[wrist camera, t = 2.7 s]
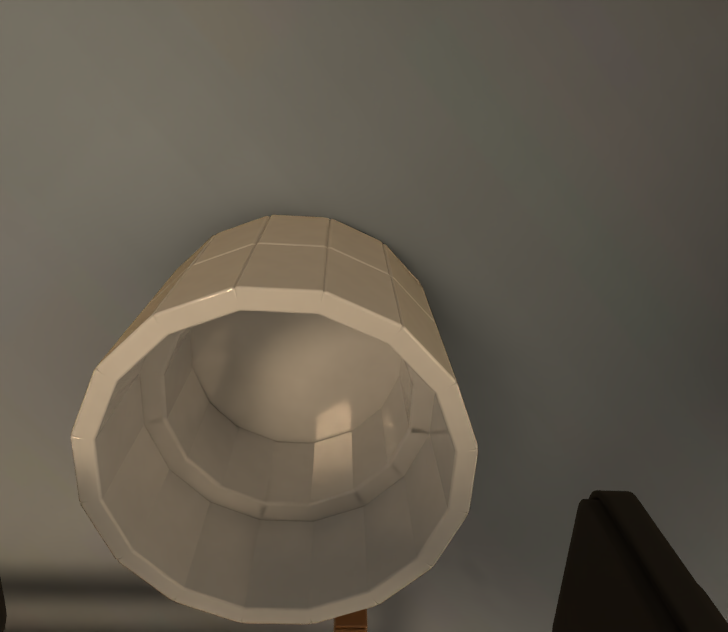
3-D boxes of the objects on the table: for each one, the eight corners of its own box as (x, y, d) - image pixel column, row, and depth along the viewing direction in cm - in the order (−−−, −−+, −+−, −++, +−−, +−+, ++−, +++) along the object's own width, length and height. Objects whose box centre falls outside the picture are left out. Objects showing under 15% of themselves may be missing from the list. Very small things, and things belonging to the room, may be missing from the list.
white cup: (153, 202, 14) (48, 278, 9) (446, 218, 15) (502, 299, 10) (169, 453, 17) (94, 621, 12) (420, 461, 17) (452, 628, 12)
